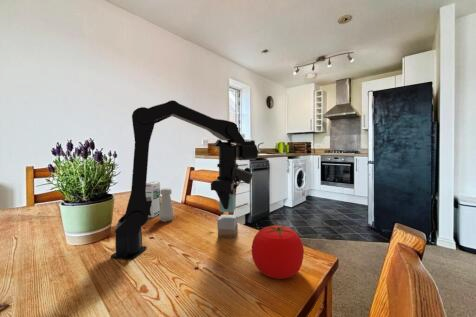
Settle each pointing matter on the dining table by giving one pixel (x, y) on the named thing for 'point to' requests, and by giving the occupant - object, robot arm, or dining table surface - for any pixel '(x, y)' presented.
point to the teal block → (231, 204)
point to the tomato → (277, 251)
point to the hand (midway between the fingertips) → (227, 207)
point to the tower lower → (228, 232)
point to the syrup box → (154, 197)
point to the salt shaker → (166, 205)
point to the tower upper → (227, 222)
